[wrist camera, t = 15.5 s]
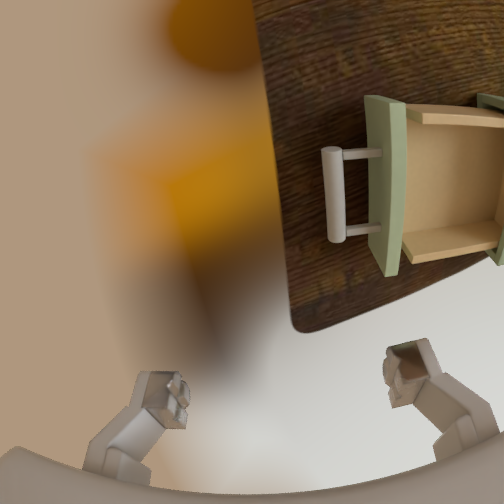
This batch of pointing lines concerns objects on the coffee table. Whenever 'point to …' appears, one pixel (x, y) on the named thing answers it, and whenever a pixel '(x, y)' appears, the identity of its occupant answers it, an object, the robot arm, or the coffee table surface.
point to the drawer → (423, 181)
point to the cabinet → (485, 101)
